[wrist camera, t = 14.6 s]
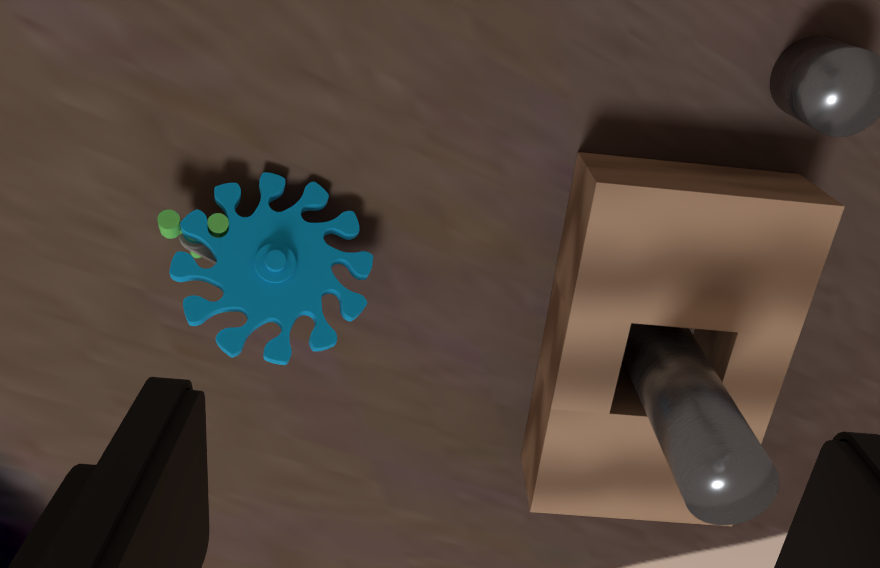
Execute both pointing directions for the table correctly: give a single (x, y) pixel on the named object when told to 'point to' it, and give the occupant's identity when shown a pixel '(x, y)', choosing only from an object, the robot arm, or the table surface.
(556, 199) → the table surface
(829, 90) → the short pin
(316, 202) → the gear
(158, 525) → the robot arm
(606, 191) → the hole block
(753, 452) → the long pin
